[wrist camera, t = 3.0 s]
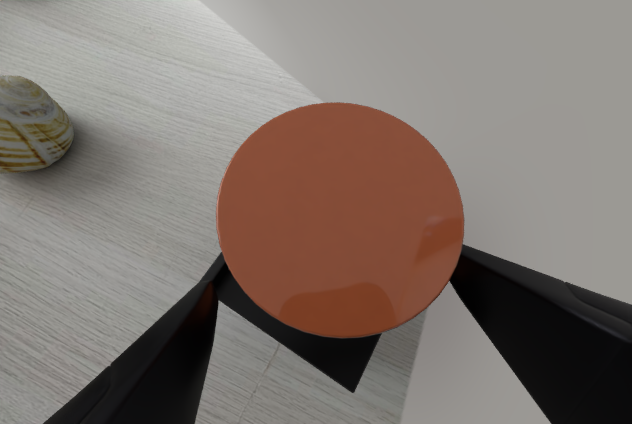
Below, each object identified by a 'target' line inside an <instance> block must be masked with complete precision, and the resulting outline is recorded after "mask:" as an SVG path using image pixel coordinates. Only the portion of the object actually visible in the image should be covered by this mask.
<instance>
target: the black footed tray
mask: <svg viewBox="0 0 632 424" xmlns="http://www.w3.org/2000/svg"><path fill="white" fill-rule="evenodd" d="M208 280H210V281H212V283H213V285H214V287H215V290H216V293H217V295H218V300H219V301H221V302H222V303H224V304H225V305H226V306H228V307H229V308H231V309H232V310H234V311H235V312H237V313H238V314H239V315H241V316H242V317H244V318H245V319H247V320H248V321H250V322H251V323H252V324H254V325H255V326H257V327H258V328H260V329H261V330H262V331H264V332H265V333H267V334H268V335H270V336H271V337H273V338H274V339H275V340H277V341H278V342H280V343H281V344H283V345H284V346H285V347H287V348H288V349H290V350H291V351H293V352H294V353H296V354H297V355H298V356H300V357H301V358H303V359H304V360H306V361H307V362H309V363H310V364H311V365H313V366H314V367H316V368H317V369H319V370H320V371H321V372H323V373H324V374H326V375H327V376H329V377H330V378H332V379H333V380H334V381H336V382H337V383H339V384H340V385H342V386H343V387H344V388H346V389H347V390H349V391H350V392H352V393H354V392H355V390H356V387H357V385H358V383H359V381H360V379H361V377H362V375H363V372H364V370H365V368H366V366H367V364H368V362H369V360H370V357H371V355H372V353H373V351H374V349H375V347H376V345H377V342H378V340H379V338H380V336H381V334H382V333H380V334H375V335H371V336H366V337H359V338H333V337H323V336H319V335H315V334H311V333H306V332H303V331H301V330H298V329H296V328H293V327H291V326H288V325H286V324H284V323H283V322H281V321H279V320H277V319H276V318H274V317H272V316H271V315H269V314H268V313H267V312H265V311H264V310H263V309H262V308H260V307H259V306H258V305H257V304H255V303H254V301H253V300H252V299H251V298H250V297H249V296H248V295H247V294H246V293H245V292H244V291H243V290H242V288H241V287H240V285H239V284H238V283H237V281H236V280H235V278H234V277H233V275H232V273H231V271H230V269H229V267H228V265H227V264H226V262H225V259H224V256H223V253H222V252H221V253H220V255H219V256H218V257H217V259H216V260H215V261H214V263H213V264H212V265H211V267H210V268H209V269H208V271H207V272H206V273H205V275H204V276H203V277H202V279H201V280H200V282H202V281H208Z"/></svg>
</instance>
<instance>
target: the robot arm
mask: <svg viewBox="0 0 632 424" xmlns="http://www.w3.org/2000/svg"><path fill="white" fill-rule="evenodd" d="M449 281H450V283H451V284H452V286H453V288H454V289H455V291H456V293H457V294H458V296H459V297H460V299H461V300H462V302H463V303H464V305H465V306H466V307H467V309H468V310H469V311H470V313H471V314H472V316H473V317H474V318H475V320H476V321H477V322H478V324H479V325H480V327H481V328H482V329H483V331H484V332H485V333H486V335H487V336H488V337H489V339H490V340H491V342H492V343H493V344H494V346H495V347H496V349H497V350H498V351H499V353H500V354H501V355H502V357H503V358H504V359H505V361H506V362H507V363H508V365H509V366H510V368H511V369H512V370H513V372H514V373H515V375H516V376H517V377H518V379H519V380H520V381H521V383H522V384H523V385H524V387H525V388H526V390H527V391H528V392H529V394H530V395H531V397H532V398H533V399H534V401H535V402H536V403H537V405H538V406H539V407H540V409H541V410H542V412H543V413H544V414H545V415H546V417H547V418H548V420H549V421H550V423H551V424H632V305H631V304H628V303H625V302H622V301H619V300H616V299H613V298H609V297H606V296H604V295H601V294H598V293H595V292H592V291H589V290H587V289H584V288H581V287H578V286H576V285H573V284H570V283H568V282H565V283H564V282H563V281H561V280H559V279H556V278H554V277H551V276H548V275H545V274H542V273H540V272H537V271H535V270H532V269H529V268H526V267H523V266H521V265H518V264H515V263H513V262H510V261H507V260H504V259H501V258H499V257H496V256H493V255H491V254H488V253H485V252H483V251H480V250H477V249H474V248H472V247H469V246H466V245H463V244H462V250H461V253H460V256H459V260H458V263H457V266H456V268H455V270H454V272H453V274H452V276H451V278H450V280H449ZM217 310H218V295H217V293H216V290H215V287H214V285H213V283H212V281H210V280H208V281H202V282H199V283H198V284H197V285H196V286H194V287H193V288H192V289H191V290H190V291H189V292H188V293H187V294H186V295H185V296H184V297H183V298H181V299H180V300H179V301H178V302H177V303H176V304H175V305H174V306H173V307H172V308H171V309H170V310H168V311H167V312H166V313H165V314H164V315H163V316H162V317H161V318H160V319H159V320H158V321H157V322H155V323H154V324H153V325H152V326H151V327H150V328H149V329H148V330H147V331H146V332H145V333H144V334H142V335H141V336H140V337H139V338H138V339H137V340H136V341H135V342H134V343H133V344H132V345H131V346H129V347H128V348H127V349H126V350H125V351H124V352H123V353H122V354H121V355H120V356H119V357H118V358H116V359H115V360H114V361H113V362H112V363H111V365H110V366H108V367H107V368H106V369H104V370H103V371H102V372H101V373H100V374H99V375H98V376H97V377H96V378H95V379H94V380H92V381H91V382H90V383H89V384H88V385H87V386H86V387H85V388H84V389H82V390H81V391H80V392H79V393H78V394H77V395H76V396H75V397H74V398H72V399H71V400H70V401H69V402H68V403H66V404H65V405H64V406H63V407H62V408H61V409H59V410H58V411H57V412H56V413H55V414H54V415H52V416H51V417H50V418H49V419H48V420H47V421H45V422H44V423H43V424H194V423H195V419H196V415H197V411H198V407H199V402H200V398H201V394H202V390H203V385H204V381H205V377H206V373H207V368H208V364H209V360H210V356H211V352H212V347H213V342H214V335H215V327H216V319H217Z"/></svg>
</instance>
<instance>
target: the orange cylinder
mask: <svg viewBox="0 0 632 424" xmlns="http://www.w3.org/2000/svg"><path fill="white" fill-rule="evenodd" d="M216 226H217V234H218V239H219V244H220V247H221V250H222V253H223V256H224V259H225V262H226V264H227V265H228V267H229V269H230V271H231V273H232V275H233V277H234V278H235V280H236V281H237V283H238V284H239V285H240V287H241V288H242V290H243V291H244V292H245V293H246V294H247V295H248V296H249V297H250V298H251V299H252V300H253V301H254V303H255V304H257V305H258V306H259V307H260V308H262V309H263V310H264V311H265V312H267V313H268V314H269V315H271V316H272V317H274V318H276V319H277V320H279V321H281V322H283V323H284V324H286V325H288V326H291V327H293V328H296V329H298V330H301V331H303V332H306V333H311V334H315V335H319V336H323V337H333V338H359V337H366V336H371V335H375V334H380V333H383V332H386V331H388V330H391V329H394V328H397V327H399V326H400V325H402V324H404V323H406V322H408V321H410V320H411V319H413V318H414V317H416V316H417V315H418V314H420V313H421V312H422V311H424V310H425V309H426V308H427V307H428V306H429V305H430V304H431V303H432V302H433V301H434V300H435V299H436V298H437V297H438V296H439V295H440V293H441V292H442V290H443V289H444V288H445V286H446V285H447V283H448V282H449V280H450V278H451V276H452V274H453V272H454V270H455V268H456V266H457V263H458V260H459V256H460V253H461V250H462V244H463V237H464V214H463V205H462V201H461V197H460V193H459V189H458V187H457V184H456V182H455V179H454V177H453V175H452V173H451V171H450V169H449V167H448V165H447V164H446V162H445V161H444V159H443V158H442V156H441V155H440V154H439V152H438V151H437V150H436V149H435V148H434V146H433V145H432V144H431V143H430V142H429V141H428V140H427V139H426V138H425V137H424V136H422V135H421V134H420V133H419V132H418V131H417V130H415V129H414V128H412V127H411V126H410V125H408V124H407V123H405V122H403V121H402V120H400V119H398V118H396V117H394V116H392V115H390V114H388V113H385V112H383V111H380V110H377V109H374V108H370V107H367V106H362V105H357V104H351V103H320V104H312V105H308V106H304V107H299V108H296V109H294V110H291V111H288V112H285V113H283V114H281V115H279V116H277V117H275V118H273V119H272V120H270V121H269V122H267V123H265V124H264V125H262V126H261V127H260V128H259V129H257V130H256V131H255V132H254V133H253V134H251V135H250V136H249V137H248V139H247V140H246V141H245V142H244V143H243V144H242V145H241V146H240V148H239V149H238V150H237V152H236V153H235V154H234V156H233V157H232V159H231V161H230V163H229V165H228V167H227V168H226V171H225V173H224V176H223V179H222V181H221V184H220V189H219V193H218V197H217V207H216Z"/></svg>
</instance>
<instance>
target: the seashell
mask: <svg viewBox="0 0 632 424" xmlns="http://www.w3.org/2000/svg"><path fill="white" fill-rule="evenodd" d="M73 137H74V131H73V126H72V123H71V121H70V119H69V117H68V115H67V114H66V113H65V111H64V110H63V109H62V108H61V107H60V106H59V104H58V103H57V102H56V101H54V100H53V99H52V98H51V97H50V96H49V95H48V94H47V92H46V91H45V90H43V89H42V88H41V87H40V86H38V85H37V84H36V83H34V82H33V81H31V80H28V79H26V78H23V77H20V76H0V173H18V172H28V171H33V170H37V169H42V168H46V167H49V166H50V165H51V164H52V163H54V162H55V161H57V160H59V159H60V158H61V157H62V156H63V155H64V154H65V153H66V151H67V150H68V149H69V147H70V145H71V143H72V141H73Z"/></svg>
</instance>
